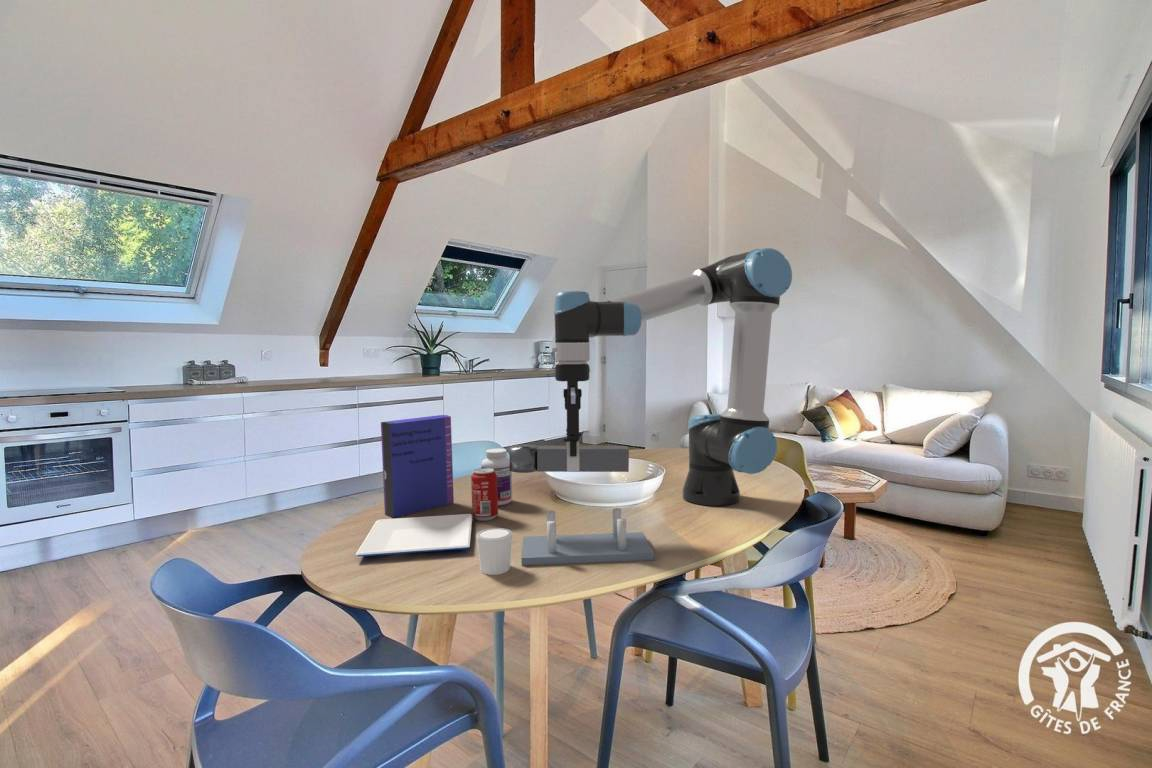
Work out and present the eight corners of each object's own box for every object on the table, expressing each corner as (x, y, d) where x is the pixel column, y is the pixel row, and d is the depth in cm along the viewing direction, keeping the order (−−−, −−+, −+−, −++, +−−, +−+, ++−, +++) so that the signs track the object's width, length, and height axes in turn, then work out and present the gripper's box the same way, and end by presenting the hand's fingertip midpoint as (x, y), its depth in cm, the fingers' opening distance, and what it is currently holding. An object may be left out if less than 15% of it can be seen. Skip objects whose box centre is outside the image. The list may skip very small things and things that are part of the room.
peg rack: (643, 538, 122) (642, 505, 122) (654, 560, 110) (653, 522, 110) (523, 543, 120) (522, 509, 120) (521, 565, 109) (520, 527, 108)
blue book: (444, 500, 155) (441, 414, 154) (453, 503, 152) (450, 415, 150) (384, 514, 143) (380, 421, 141) (393, 518, 140) (389, 423, 138)
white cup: (507, 577, 103) (506, 540, 103) (471, 575, 104) (470, 538, 104) (517, 562, 110) (516, 528, 109) (484, 561, 111) (483, 526, 111)
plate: (355, 564, 111) (354, 554, 111) (377, 527, 133) (376, 519, 133) (469, 555, 115) (469, 545, 115) (472, 521, 137) (472, 513, 137)
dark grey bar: (625, 466, 128) (626, 444, 127) (629, 473, 121) (629, 449, 121) (510, 466, 127) (510, 444, 127) (508, 472, 121) (508, 449, 120)
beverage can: (500, 514, 142) (499, 467, 141) (494, 522, 135) (493, 473, 134) (476, 513, 142) (474, 467, 141) (469, 521, 136) (467, 473, 135)
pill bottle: (487, 498, 156) (486, 447, 155) (515, 498, 155) (514, 447, 154) (478, 506, 148) (476, 453, 147) (508, 507, 147) (506, 453, 146)
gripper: (555, 361, 131) (556, 460, 133) (554, 364, 114) (555, 477, 116) (587, 361, 131) (587, 460, 133) (591, 364, 114) (592, 477, 116)
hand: (572, 468), depth 124 cm, fingers closed on dark grey bar, 4 cm apart
